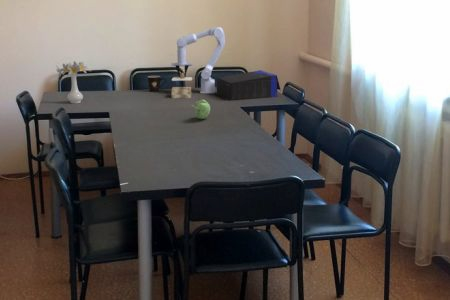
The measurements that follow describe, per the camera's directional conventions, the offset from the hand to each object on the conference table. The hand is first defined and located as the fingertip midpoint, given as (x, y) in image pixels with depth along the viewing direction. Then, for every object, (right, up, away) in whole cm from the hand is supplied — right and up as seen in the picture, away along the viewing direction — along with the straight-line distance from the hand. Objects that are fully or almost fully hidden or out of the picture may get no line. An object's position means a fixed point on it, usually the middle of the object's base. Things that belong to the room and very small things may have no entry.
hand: (182, 77), depth 384 cm
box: (0, -14, -11) cm, 17 cm away
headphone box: (+44, -13, -8) cm, 46 cm away
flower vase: (-64, -20, -29) cm, 73 cm away
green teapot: (+16, -32, -75) cm, 83 cm away
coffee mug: (-18, -9, +7) cm, 21 cm away
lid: (0, -2, 0) cm, 2 cm away
